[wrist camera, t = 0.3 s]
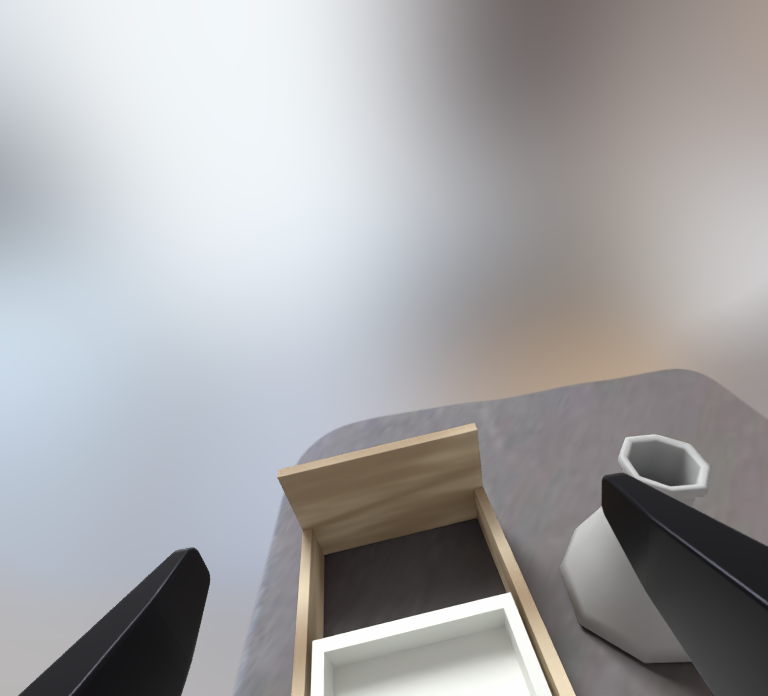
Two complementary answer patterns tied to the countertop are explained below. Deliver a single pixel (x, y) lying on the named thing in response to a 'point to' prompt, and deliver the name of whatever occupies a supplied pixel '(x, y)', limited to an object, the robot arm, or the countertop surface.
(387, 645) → the tray
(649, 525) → the robot arm
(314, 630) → the dock
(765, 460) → the countertop surface
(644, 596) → the flask
